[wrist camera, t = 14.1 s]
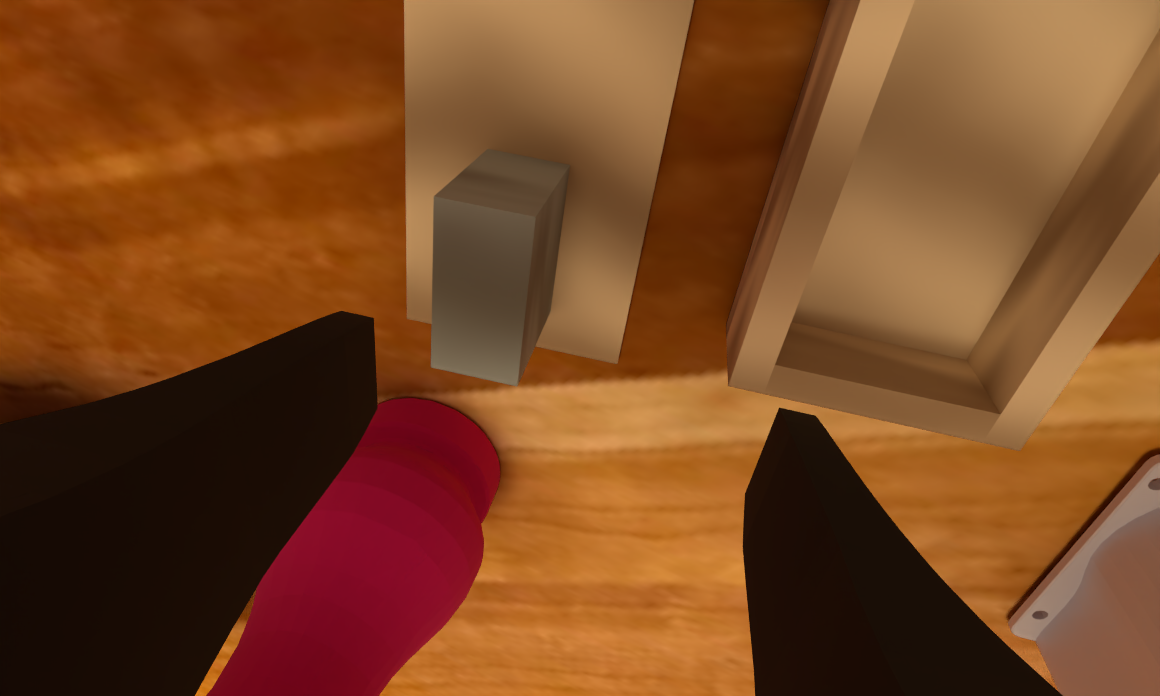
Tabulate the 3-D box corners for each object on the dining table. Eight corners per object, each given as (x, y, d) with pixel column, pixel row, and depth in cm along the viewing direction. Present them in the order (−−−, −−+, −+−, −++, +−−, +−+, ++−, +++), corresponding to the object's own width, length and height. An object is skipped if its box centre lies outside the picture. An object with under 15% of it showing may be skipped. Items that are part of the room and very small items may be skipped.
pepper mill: (312, 428, 27) (-363, 1228, 10) (431, 356, 24) (-260, 1342, 7) (426, 538, 29) (39, 1329, 12) (548, 485, 26) (251, 1448, 9)
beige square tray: (1020, 388, 20) (1091, 489, 16) (683, 316, 21) (677, 395, 17) (1312, -57, 14) (1544, -61, 10) (808, -139, 14) (842, -173, 11)
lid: (620, 351, 23) (598, 447, 18) (415, 307, 23) (347, 389, 19) (702, -39, 16) (700, -36, 12) (415, -88, 17) (311, -102, 12)
